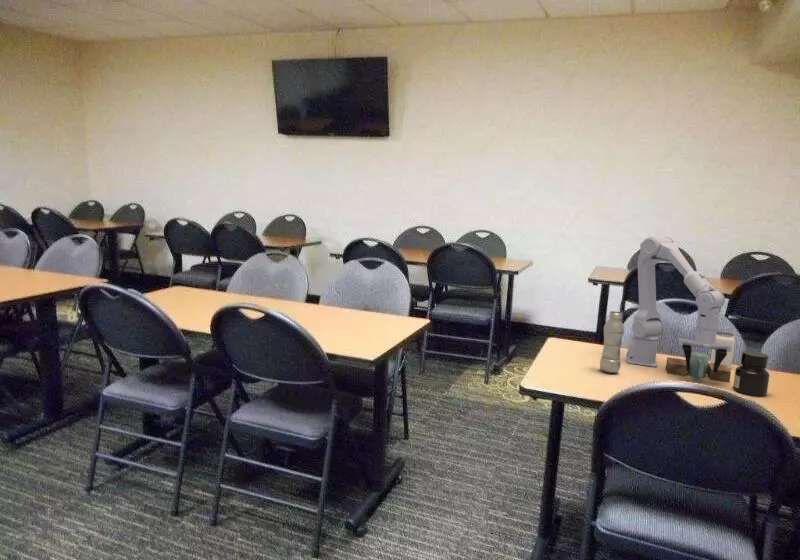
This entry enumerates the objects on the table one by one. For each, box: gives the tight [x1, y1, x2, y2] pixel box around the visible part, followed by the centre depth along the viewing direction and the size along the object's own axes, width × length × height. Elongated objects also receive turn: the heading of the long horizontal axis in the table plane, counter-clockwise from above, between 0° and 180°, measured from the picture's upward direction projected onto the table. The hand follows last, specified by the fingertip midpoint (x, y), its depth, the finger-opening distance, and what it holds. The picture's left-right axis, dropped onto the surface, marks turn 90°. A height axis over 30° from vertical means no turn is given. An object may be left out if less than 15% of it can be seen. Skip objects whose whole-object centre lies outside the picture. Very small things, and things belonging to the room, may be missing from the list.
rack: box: [665, 357, 731, 383], centre depth 188 cm, size 18×8×4 cm, turn 69°
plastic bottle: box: [599, 310, 625, 374], centre depth 185 cm, size 6×7×20 cm
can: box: [709, 331, 736, 370], centre depth 198 cm, size 6×6×12 cm
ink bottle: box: [732, 350, 770, 397], centre depth 173 cm, size 10×9×12 cm
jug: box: [686, 351, 710, 379], centre depth 185 cm, size 6×11×7 cm, turn 159°
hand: (701, 370), depth 181 cm, fingers open, 7 cm apart
